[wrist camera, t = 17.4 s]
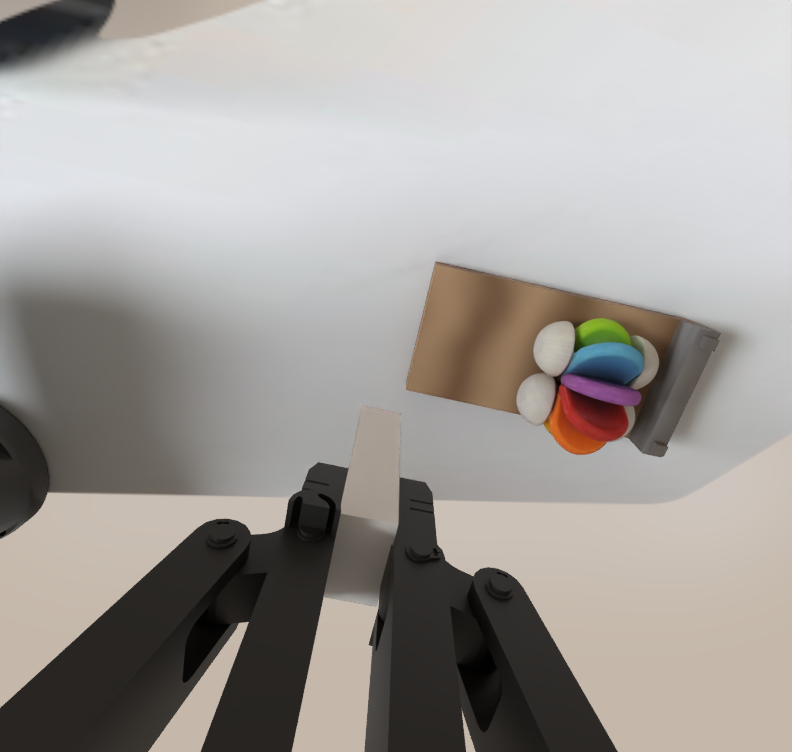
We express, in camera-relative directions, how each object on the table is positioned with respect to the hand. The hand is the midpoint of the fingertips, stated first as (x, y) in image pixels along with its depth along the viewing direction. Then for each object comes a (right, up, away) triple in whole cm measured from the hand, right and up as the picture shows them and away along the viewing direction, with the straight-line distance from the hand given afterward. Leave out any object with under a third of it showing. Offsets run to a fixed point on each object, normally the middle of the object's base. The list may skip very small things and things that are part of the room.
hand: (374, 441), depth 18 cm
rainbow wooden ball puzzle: (+15, +3, +18) cm, 24 cm away
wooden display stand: (+13, +5, +20) cm, 24 cm away
